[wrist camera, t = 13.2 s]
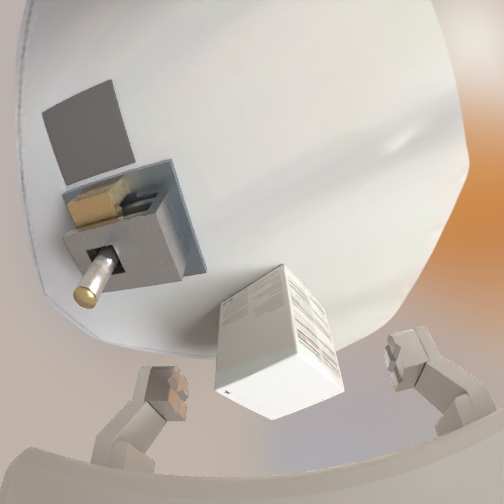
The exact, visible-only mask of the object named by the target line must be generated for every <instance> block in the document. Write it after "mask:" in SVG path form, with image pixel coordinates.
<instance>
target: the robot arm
mask: <svg viewBox="0 0 504 504" xmlns="http://www.w3.org/2000/svg"><path fill="white" fill-rule="evenodd" d="M387 341H388V344H389V345H388V346H386V348H385V362H386V365H387V369H388V370H389V371H391V372H392V376H391V381H392V384H393V387H394V390H395V392H398V391H402V390H405V389H410V388H413V387H415V389H416V390H417V391H418V392H419V393H420V394H421V395H423V396H424V397H425V398H426V399H427V400H428V401H429V402H430V403H431V404H433V405H434V406H435V407H436V408H437V409H438V410H439V411H440V412H441V413H443V415H442V417H441V418H440V419H439V420H438V422H437V423H436V425H435V428H436V432H437V435H438V437H437V438H434V439H432V440H429V441H426V442H423V443H421V444H418V445H415V446H412V447H409V448H406V449H402V450H399V451H396V452H393V453H389V454H386V455H382V456H378V457H375V458H371V459H367V460H362V461H358V462H354V463H349V464H344V465H340V466H334V467H329V468H323V469H317V470H311V471H303V472H296V473H287V474H278V475H265V476H249V477H189V476H173V475H162V474H154V467H155V462H154V461H153V460H152V459H150V458H149V457H148V456H146V455H145V453H146V451H147V450H148V448H149V447H150V446H151V444H152V443H153V441H154V440H155V439H156V437H157V436H158V434H159V433H160V431H161V430H162V428H163V427H164V426H165V424H166V423H167V422H166V421H185V420H186V412H187V406H186V404H185V403H184V402H185V400H186V399H187V398H188V393H189V390H188V383H187V380H186V378H185V377H184V376H183V375H181V374H180V369H179V368H178V366H160V367H154V366H152V367H141V369H140V370H139V373H138V378H137V382H136V386H135V391H134V395H133V399H132V401H129V402H128V403H127V404H126V405H125V406H124V407H123V408H122V409H121V410H120V412H118V413H117V415H116V416H115V417H114V418H113V419H112V420H111V421H110V422H109V423H108V424H107V426H105V427H104V429H103V430H102V431H101V432H100V433H99V434H98V435H97V436H96V440H95V444H94V448H93V454H92V458H91V462H90V463H88V462H83V461H79V460H75V459H71V458H67V457H64V456H60V455H56V454H53V453H50V452H47V451H43V450H41V449H38V448H33V447H30V448H27V449H26V450H24V451H23V452H22V453H21V454H20V455H19V456H18V457H16V458H15V459H14V460H13V461H12V462H11V463H10V465H9V466H8V468H7V471H6V473H5V476H4V479H3V482H2V486H1V490H0V504H504V407H502V408H500V409H499V410H496V408H495V405H494V403H493V400H492V398H491V396H490V394H489V392H488V389H487V387H486V385H485V384H484V383H482V382H481V381H480V380H478V379H477V378H475V377H474V376H472V375H471V374H469V373H468V372H466V371H465V370H463V369H462V368H460V367H459V366H457V365H456V364H454V363H453V362H451V361H450V360H448V359H447V358H445V357H442V358H441V356H440V354H439V352H438V350H437V348H436V346H435V343H434V341H433V340H432V337H431V335H430V334H429V331H428V329H427V328H426V327H425V326H420V327H417V328H414V329H409V330H405V331H401V332H397V333H394V334H390V335H389V336H388V340H387Z"/></svg>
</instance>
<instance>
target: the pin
mask: <svg viewBox="0 0 504 504" xmlns="http://www.w3.org/2000/svg"><path fill="white" fill-rule="evenodd" d="M118 261H119V257H118V255H117V253H116V251H115V249H114V247H113V245H108V246H103V247H102V248H101V250H100V251H99V253H98V254H97V256H96V257H95V259H94V260H93V262H92V263H91V265H90V267H89V268H88V270H87V271H86V273H85V275H84V276H83V278H82V280H81V281H80V283H79V284H78V286H77V288H76V289H75V291H74V293H73V296H74V299H75V301H76V302H77V303H78V304H79V305H80V306H82V307H84V308H87V309H91V308H94V307H95V305H96V303H97V301H98V299H99V297H100V295H101V293H102V291H103V289H104V287H105V285H106V283H107V281H108V279H109V278H110V276H111V274H112V272H113V270H114V268H115V266H116V265H117V263H118Z"/></svg>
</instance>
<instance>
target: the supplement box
mask: <svg viewBox="0 0 504 504" xmlns="http://www.w3.org/2000/svg"><path fill="white" fill-rule="evenodd" d="M214 390H215V391H216V392H218V393H220V394H222V395H224V396H225V397H227V398H229V399H231V400H233V401H234V402H236V403H238V404H240V405H242V406H244V407H246V408H248V409H250V410H252V411H254V412H256V413H258V414H260V415H262V416H264V417H266V418H268V419H271V420H274V419H277V418H280V417H282V416H285V415H288V414H291V413H293V412H296V411H298V410H301V409H304V408H306V407H309V406H311V405H313V404H316V403H318V402H321V401H323V400H326V399H328V398H330V397H333V396H335V395H337V394H340V393H342V392H344V386H343V382H342V377H341V374H340V369H339V365H338V361H337V357H336V353H335V348H334V344H333V340H332V336H331V332H330V329H329V325H328V321H327V317H326V314H325V310H324V308H323V307H322V305H321V304H320V303H319V302H318V301H317V300H316V299H315V298H314V296H313V295H312V294H311V293H310V292H309V291H308V290H307V289H306V288H305V286H304V285H303V284H302V283H301V282H300V281H299V280H298V279H297V278H296V277H295V275H294V274H293V273H292V272H291V271H290V270H289V269H288V268H287V267H286V266H285V265H284V264H283V265H280V266H279V267H277V268H276V269H274V270H273V271H271V272H269V273H268V274H266V275H265V276H263V277H262V278H260V279H258V280H257V281H255V282H254V283H252V284H250V285H249V286H247V287H246V288H244V289H243V290H241V291H239V292H238V293H236V294H235V295H233V296H231V297H230V298H228V299H227V300H225V301H223V302H222V303H221V305H220V317H219V331H218V346H217V360H216V374H215V389H214Z"/></svg>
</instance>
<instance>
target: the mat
mask: <svg viewBox="0 0 504 504" xmlns="http://www.w3.org/2000/svg"><path fill="white" fill-rule="evenodd" d="M42 114H43V118H44V121H45V124H46V128H47V131H48V134H49V137H50V140H51V143H52V146H53V149H54V152H55V155H56V158H57V160H58V163H59V166H60V169H61V171H62V174H63V177H64V179H65V182H66V184H67V185H70V184H72V183H75V182H78V181H80V180H83V179H86V178H89V177H92V176H95V175H97V174H100V173H103V172H106V171H109V170H112V169H115V168H119V167H122V166H125V165H128V164H131V163H135V162H136V161H135V158H134V155H133V152H132V149H131V146H130V143H129V139H128V136H127V133H126V130H125V126H124V123H123V120H122V116H121V113H120V109H119V106H118V102H117V99H116V95H115V91H114V87H113V84H112V80H108V81H106V82H103V83H101V84H99V85H96V86H94V87H92V88H90V89H88V90H85V91H83V92H81V93H79V94H77V95H75V96H73V97H71V98H69V99H67V100H65V101H63V102H61V103H59V104H57V105H55V106H53V107H52V108H50V109H48V110H46V111H44V112H43V113H42Z"/></svg>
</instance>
